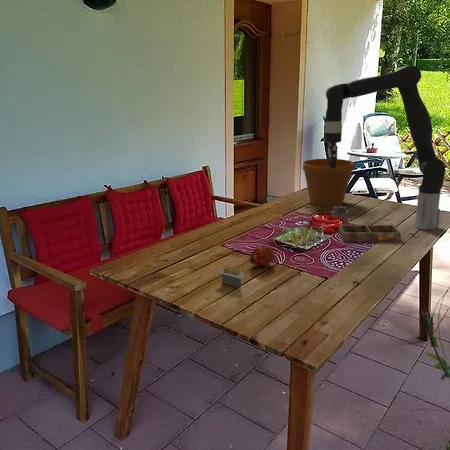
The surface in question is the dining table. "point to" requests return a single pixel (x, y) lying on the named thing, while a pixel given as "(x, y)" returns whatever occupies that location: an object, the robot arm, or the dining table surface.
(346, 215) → the lighter
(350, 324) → the dining table surface
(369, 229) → the divided wooden tray
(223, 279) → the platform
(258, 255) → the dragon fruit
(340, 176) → the flowerpot
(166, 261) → the dining table surface
